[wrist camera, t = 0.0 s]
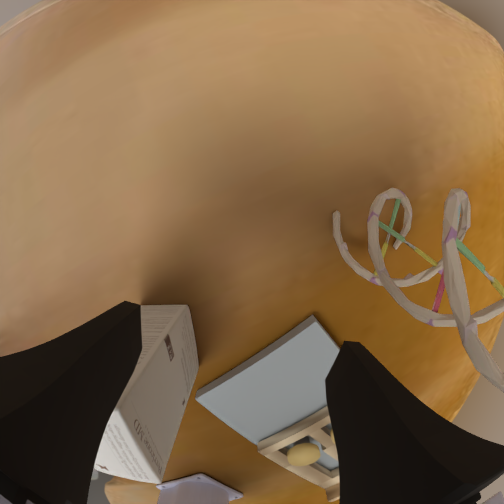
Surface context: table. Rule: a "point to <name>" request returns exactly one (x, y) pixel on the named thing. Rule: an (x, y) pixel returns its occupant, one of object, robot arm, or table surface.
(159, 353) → the skincare box
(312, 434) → the beige flat slatted frame
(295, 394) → the board
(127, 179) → the table surface
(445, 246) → the dna model
